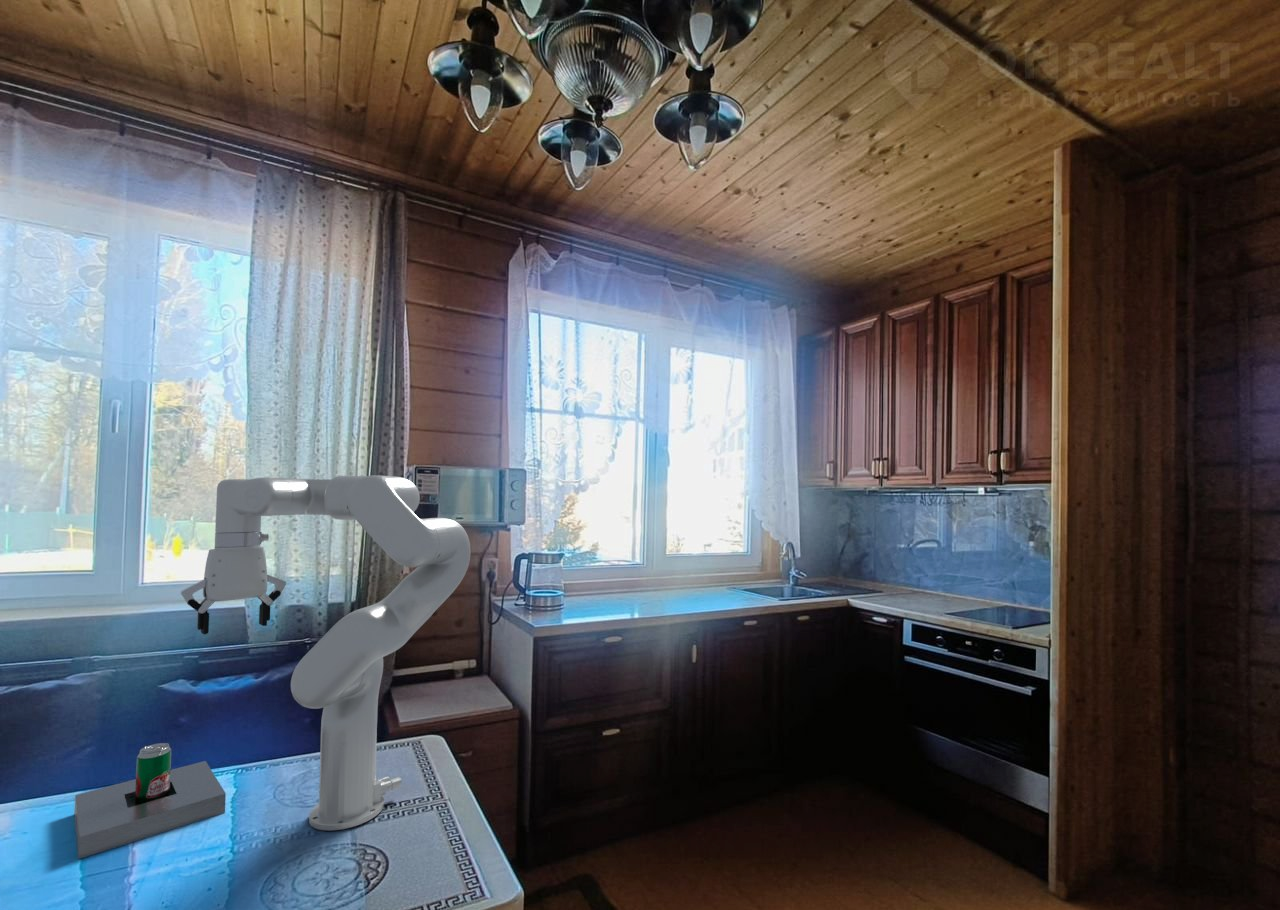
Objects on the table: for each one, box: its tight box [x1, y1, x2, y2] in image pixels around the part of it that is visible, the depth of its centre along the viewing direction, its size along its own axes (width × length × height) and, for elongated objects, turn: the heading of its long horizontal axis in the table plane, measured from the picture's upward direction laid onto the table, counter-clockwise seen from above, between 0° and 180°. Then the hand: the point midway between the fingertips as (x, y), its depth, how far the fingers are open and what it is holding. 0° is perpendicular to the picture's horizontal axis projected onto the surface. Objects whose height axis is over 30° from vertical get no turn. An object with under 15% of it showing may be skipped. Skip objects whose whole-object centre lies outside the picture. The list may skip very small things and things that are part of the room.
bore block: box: [73, 760, 227, 860], centre depth 111 cm, size 20×20×4 cm
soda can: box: [135, 742, 172, 806], centre depth 112 cm, size 5×5×12 cm
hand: (234, 628), depth 116 cm, fingers open, 9 cm apart
